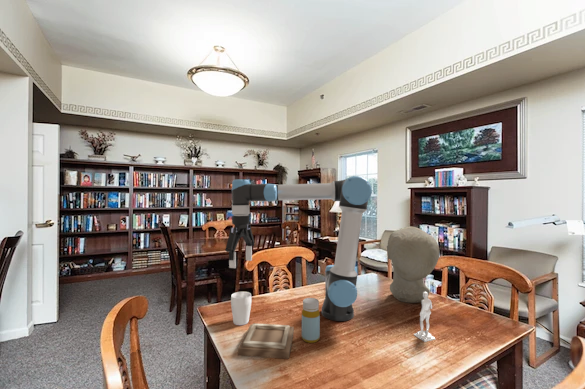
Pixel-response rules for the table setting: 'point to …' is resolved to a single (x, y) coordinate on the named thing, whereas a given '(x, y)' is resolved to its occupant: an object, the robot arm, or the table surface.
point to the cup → (241, 307)
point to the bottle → (310, 320)
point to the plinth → (267, 341)
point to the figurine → (425, 315)
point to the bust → (411, 262)
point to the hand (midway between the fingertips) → (241, 264)
